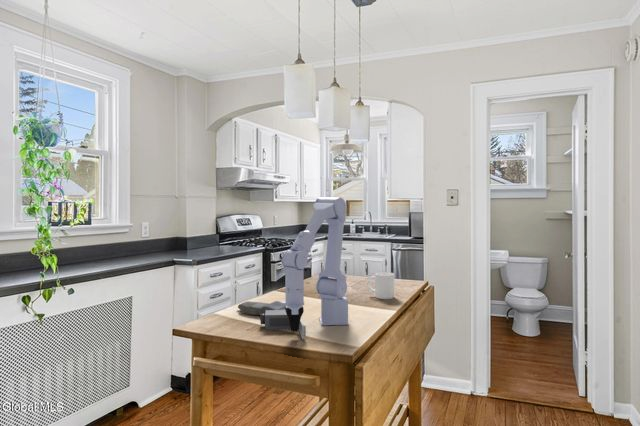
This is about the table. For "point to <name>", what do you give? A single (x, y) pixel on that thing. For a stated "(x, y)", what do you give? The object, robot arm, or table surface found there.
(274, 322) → the camera body
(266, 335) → the table surface
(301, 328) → the side door
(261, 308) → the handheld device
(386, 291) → the mug
